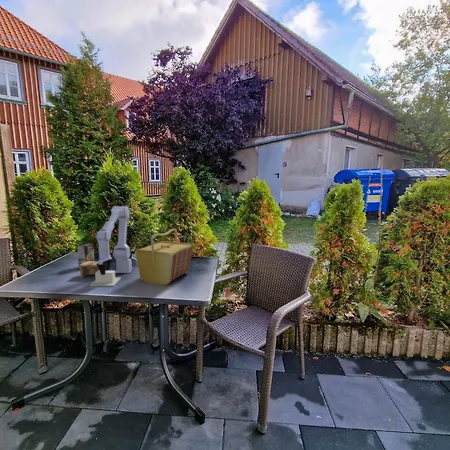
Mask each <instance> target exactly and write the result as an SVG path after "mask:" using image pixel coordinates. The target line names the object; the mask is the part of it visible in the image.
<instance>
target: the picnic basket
mask: <svg viewBox="0 0 450 450" xmlns="http://www.w3.org/2000/svg"><path fill="white" fill-rule="evenodd" d="M173 231H174V241H167V240H161V241H159V242H156V243H154V238H155V237H157V236H159V237H164V236H165V237H166V236H167V235H170V234H171V233H172V232H173ZM193 249H194V246H193V245H192V244H191V243H189V242H188V243H187V242H186V243H185V242H178V230H177V229H176V228H172V229H170V230H168V231H167V232H164V233H161V232H160V233H159V232H158V233H154V234H153V235H152V236H151V237H150V245H147V246H144V247H142V248H138V249H135V251H134V256H135V260H136V264H137V270H138V274H139V278H140V279H141V281H143V282H144V283H149V284H155V285H161V286H167V285H169V284H170V283H171V282H173V281H174V280H176V279H178V278H179V277H181V276H183V275H184V274H186V273H188V272H190V266H191V260H192V256H193Z"/></svg>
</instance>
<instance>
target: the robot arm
mask: <svg viewBox="0 0 450 450" xmlns="http://www.w3.org/2000/svg"><path fill="white" fill-rule="evenodd" d="M110 212H111V215H110V217H109V220H108V221H105V222H104V225H102V227H101V230H99V231H97V232H96V236H95V237H96V241H97V244H98V256H99V258H98V260H97V261H98V263H97V266H98V268H99V270H100V273H101V275H105V271H111V267H112V266H111V265H112V263H113V258H115V260H116V261H115V262H116V270H115V274H130V272H132V270H133V267H132V264H133V263H132V259H131V258H130V256H131V248H130V246H129V245H128V244H127V232H128V230H127V229H128V220H129V219H130V212H131V211H130V208H129V207H128V206H119V205H117V206H115V205H114V206H112V208H111V211H110ZM117 220H118V221H119V222H118V235H117V237H118V238H117V239H118V240H117V244H116V245H115V246H114V247H113V248H114V249H113V251H112V255H111V254H110V240H111V238H112V236H111V235H112V232H113V230H114V228H115V223H116V222H117ZM111 256H113V258H112V257H111Z"/></svg>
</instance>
